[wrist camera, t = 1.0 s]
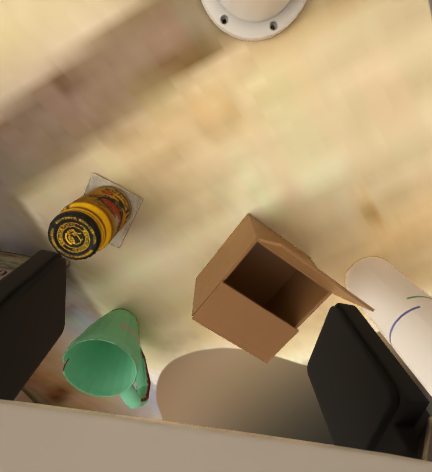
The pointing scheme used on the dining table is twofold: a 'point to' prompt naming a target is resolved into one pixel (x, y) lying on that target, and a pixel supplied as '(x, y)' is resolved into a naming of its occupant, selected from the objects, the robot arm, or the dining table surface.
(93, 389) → the mug
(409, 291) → the cylindrical container
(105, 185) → the condiment
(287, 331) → the carton
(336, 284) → the flap
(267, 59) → the dining table surface
